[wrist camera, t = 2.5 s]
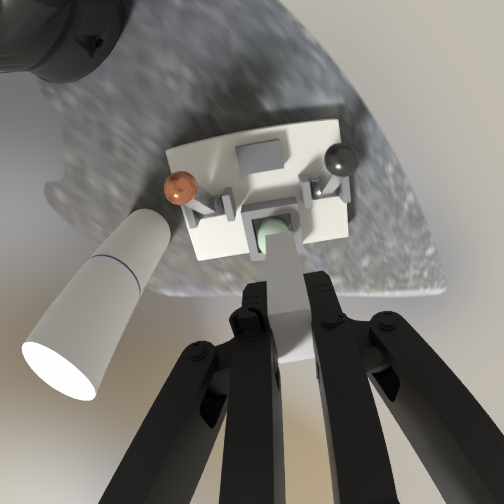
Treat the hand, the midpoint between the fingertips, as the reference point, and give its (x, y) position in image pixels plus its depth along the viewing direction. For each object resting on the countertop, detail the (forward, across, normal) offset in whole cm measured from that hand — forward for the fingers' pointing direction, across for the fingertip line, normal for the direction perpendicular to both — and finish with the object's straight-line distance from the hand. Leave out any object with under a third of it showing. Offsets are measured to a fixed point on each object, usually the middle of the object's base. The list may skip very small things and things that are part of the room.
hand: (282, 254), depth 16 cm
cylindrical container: (+21, -18, -4) cm, 28 cm away
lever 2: (+18, +6, -2) cm, 19 cm away
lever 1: (+18, -7, -2) cm, 19 cm away
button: (+17, -1, -6) cm, 17 cm away
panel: (+21, -1, -1) cm, 21 cm away
